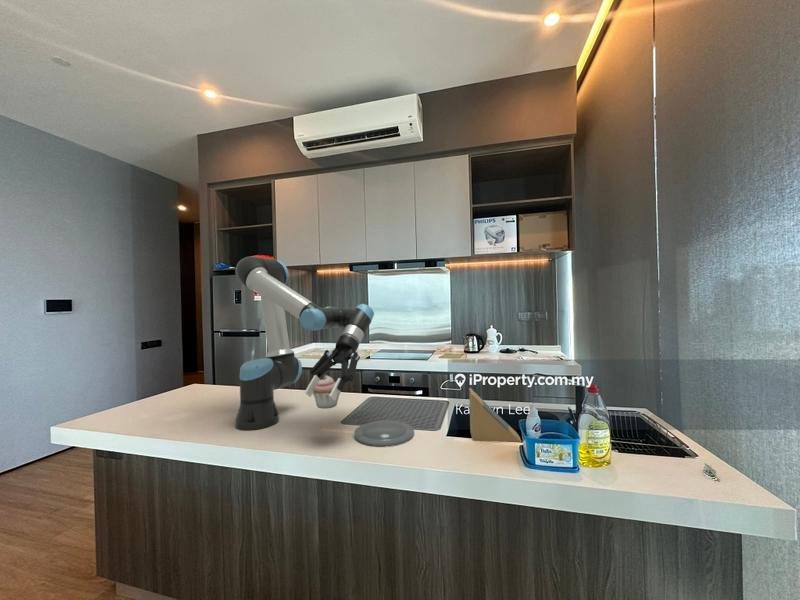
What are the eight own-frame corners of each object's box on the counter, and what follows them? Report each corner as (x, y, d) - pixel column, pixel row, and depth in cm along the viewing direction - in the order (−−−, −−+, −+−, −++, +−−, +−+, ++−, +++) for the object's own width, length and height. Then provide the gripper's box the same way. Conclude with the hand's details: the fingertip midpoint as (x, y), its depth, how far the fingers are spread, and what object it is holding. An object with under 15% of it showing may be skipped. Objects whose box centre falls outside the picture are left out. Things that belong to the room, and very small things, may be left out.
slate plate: (342, 435, 113) (342, 431, 113) (384, 419, 128) (384, 416, 128) (383, 452, 100) (383, 448, 100) (426, 432, 114) (426, 428, 114)
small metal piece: (693, 470, 86) (693, 459, 86) (705, 472, 85) (704, 460, 85) (707, 482, 80) (707, 469, 80) (719, 483, 80) (719, 471, 80)
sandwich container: (522, 442, 105) (521, 394, 105) (472, 441, 107) (471, 393, 107) (516, 432, 114) (515, 387, 114) (470, 431, 115) (469, 387, 116)
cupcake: (307, 404, 110) (307, 374, 111) (334, 400, 116) (334, 370, 116) (317, 412, 103) (317, 379, 103) (345, 407, 108) (345, 375, 108)
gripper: (379, 349, 118) (353, 407, 104) (330, 345, 128) (299, 398, 114) (371, 335, 113) (342, 394, 99) (320, 332, 123) (287, 386, 109)
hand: (319, 396), depth 106 cm, fingers closed on cupcake, 9 cm apart
